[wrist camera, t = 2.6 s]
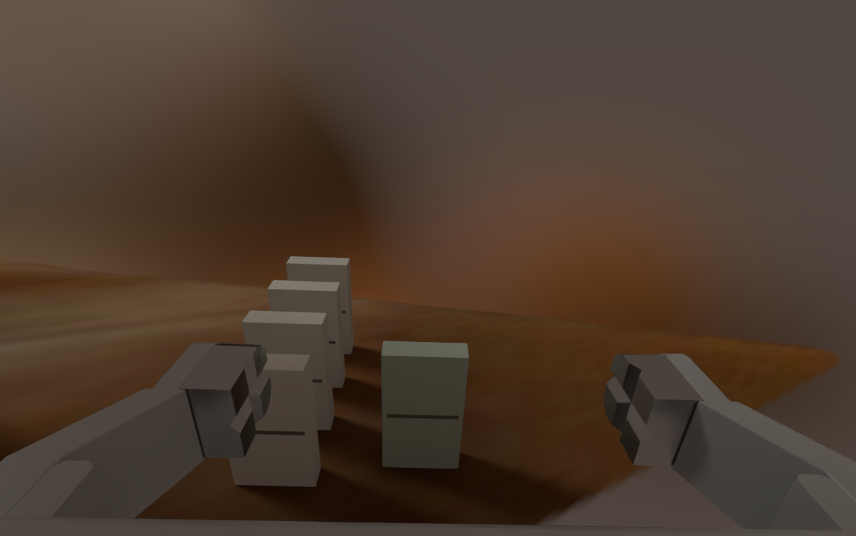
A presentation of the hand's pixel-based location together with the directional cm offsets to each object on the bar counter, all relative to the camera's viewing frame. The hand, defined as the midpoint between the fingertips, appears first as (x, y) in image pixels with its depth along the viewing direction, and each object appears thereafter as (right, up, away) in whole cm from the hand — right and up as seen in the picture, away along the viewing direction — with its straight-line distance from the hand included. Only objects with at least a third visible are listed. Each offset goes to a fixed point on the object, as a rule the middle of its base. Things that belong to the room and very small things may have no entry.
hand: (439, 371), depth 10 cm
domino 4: (-1, -10, +18) cm, 21 cm away
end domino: (-10, -5, +29) cm, 31 cm away
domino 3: (-10, -11, +17) cm, 22 cm away
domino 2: (-10, -9, +21) cm, 25 cm away
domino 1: (-10, -7, +25) cm, 28 cm away
